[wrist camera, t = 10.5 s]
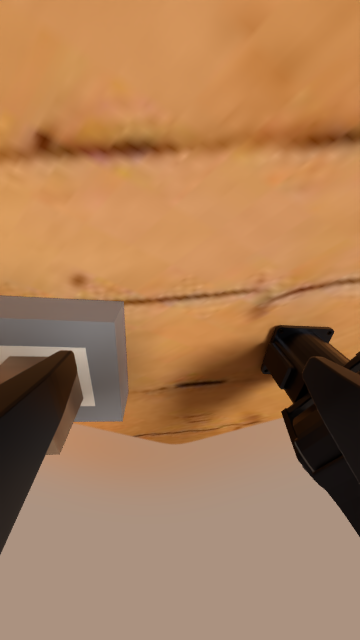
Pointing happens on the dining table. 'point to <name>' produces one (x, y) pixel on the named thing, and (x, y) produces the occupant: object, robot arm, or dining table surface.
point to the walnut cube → (21, 363)
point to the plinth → (73, 345)
